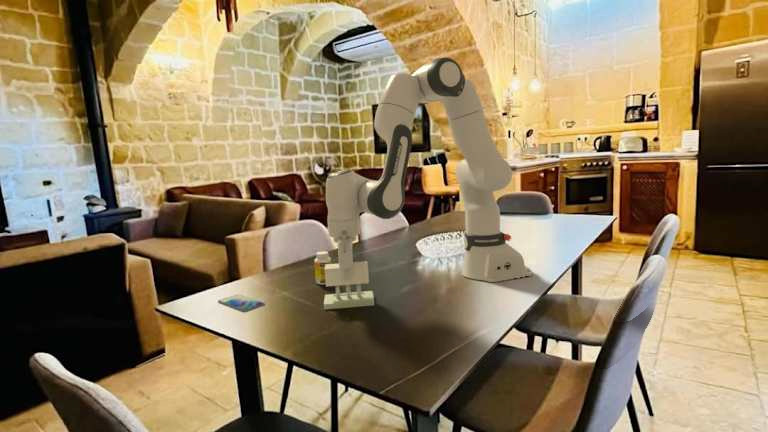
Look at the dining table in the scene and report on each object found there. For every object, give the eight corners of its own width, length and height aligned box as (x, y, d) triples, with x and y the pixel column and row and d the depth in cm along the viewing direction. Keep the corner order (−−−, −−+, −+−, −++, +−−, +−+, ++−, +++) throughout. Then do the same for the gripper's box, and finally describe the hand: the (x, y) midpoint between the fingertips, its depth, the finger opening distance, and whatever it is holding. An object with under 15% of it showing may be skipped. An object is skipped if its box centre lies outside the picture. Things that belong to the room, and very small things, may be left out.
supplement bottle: (320, 286, 138) (317, 255, 136) (313, 282, 142) (310, 252, 141) (335, 282, 141) (333, 252, 139) (328, 278, 145) (326, 249, 144)
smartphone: (238, 294, 133) (266, 303, 124) (238, 296, 133) (266, 306, 124) (216, 300, 128) (244, 310, 118) (217, 303, 128) (244, 313, 118)
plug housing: (367, 277, 124) (366, 261, 123) (368, 283, 119) (367, 265, 118) (326, 281, 123) (325, 264, 122) (325, 286, 118) (324, 269, 117)
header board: (372, 295, 126) (371, 279, 125) (374, 305, 118) (373, 288, 118) (325, 299, 125) (324, 283, 124) (324, 309, 117) (322, 292, 116)
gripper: (356, 235, 108) (359, 286, 110) (354, 221, 128) (357, 266, 131) (331, 236, 108) (335, 288, 110) (333, 223, 128) (336, 267, 130)
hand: (347, 276), depth 120 cm, fingers closed on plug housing, 5 cm apart
